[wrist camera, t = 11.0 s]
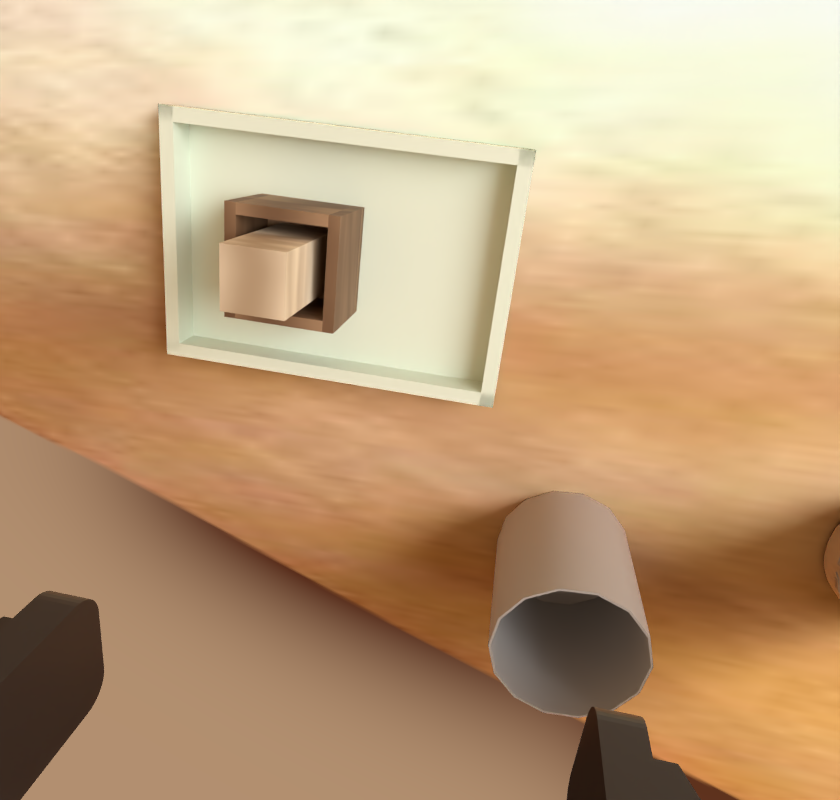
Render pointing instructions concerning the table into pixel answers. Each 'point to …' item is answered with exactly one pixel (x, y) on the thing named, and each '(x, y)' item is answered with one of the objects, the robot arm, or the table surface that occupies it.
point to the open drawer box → (340, 257)
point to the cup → (567, 608)
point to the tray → (380, 253)
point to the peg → (272, 270)
